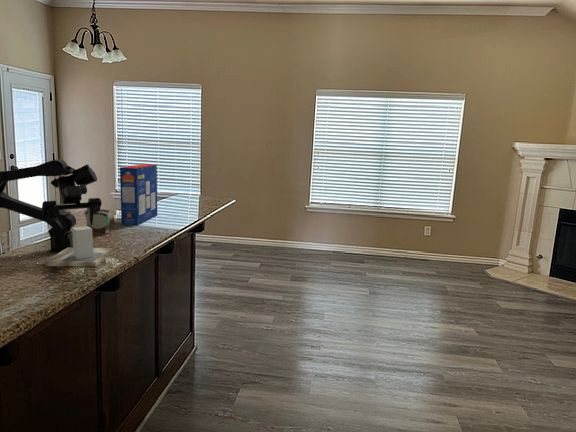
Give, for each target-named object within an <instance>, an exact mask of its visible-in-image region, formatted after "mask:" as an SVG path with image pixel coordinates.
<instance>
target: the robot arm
mask: <svg viewBox="0 0 576 432" xmlns="http://www.w3.org/2000/svg"><path fill="white" fill-rule="evenodd" d="M34 177H55V178H54V179H52V180H51V181H50V184H51V185H52V186H53V187H54V188H55V189H57V188H58V191H59V195H60V201H61V203H57V201H56V200H44V201H43V202H42V206H41V207H39V206H37V205H35V204H31V203H28V202H25V201H22V200H19V199H17V198H14V197H11V196H10V195H9V194H8V193H6V192H4V191H5V189H6V186H7V183H8V182H11V181H16V180H22V179H29V178H34ZM56 177H57V178H56ZM97 181H98V177H97V174H96V172H95V171H94V170H93V168H92V167H91V166H90V165H89V164H88V163H87V164H85V165H83V166H81V167H79V168H77V169H76V168H73V167H71V166H69V165H68V164H67V162H66V161H65V160H63V159H60V158H59V159H53V160H49V161H46V162H44V163H41V164H38V165H34V166H27V167H22V168H16V169H10V170H0V209H6V210H9V211H12V212H15V213H18V214H21V215H23V216H27V217H30V218H32V219H34V220H35V219H36V220H37V221H41V222H45V223H46V224H48V225H49V226H50V227H51V228H50V229H48V231H47V232H48V234H49V239H50V249H48V252H50V253H51V252H53V253H54V252H55V253H56V252H57V253H60V252H61V251H63V250H64V249H66V248H67V247H68V248H73V236H72V232H71V230H72V228H73V227H74V226H75V225H76V224H77V218H76V216H75V215H74V214H72V213H71V211H70V210H83V209H86V210H88V218H89V222H90V225H92V223H93V215H94V214H96V213H97V212H99V211H100V209H101V207H102V203H103V202H102V199H101V198H100V197H94V198H93V197H91V198H90V197H89V198H88V200H87V202H81V201H82V199H83V198H82V195H86V194H87V193H88V188H87V187H88V185H91V184H93V183H95V182H97ZM67 210H69V211H67ZM75 227H76V226H75Z"/></svg>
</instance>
